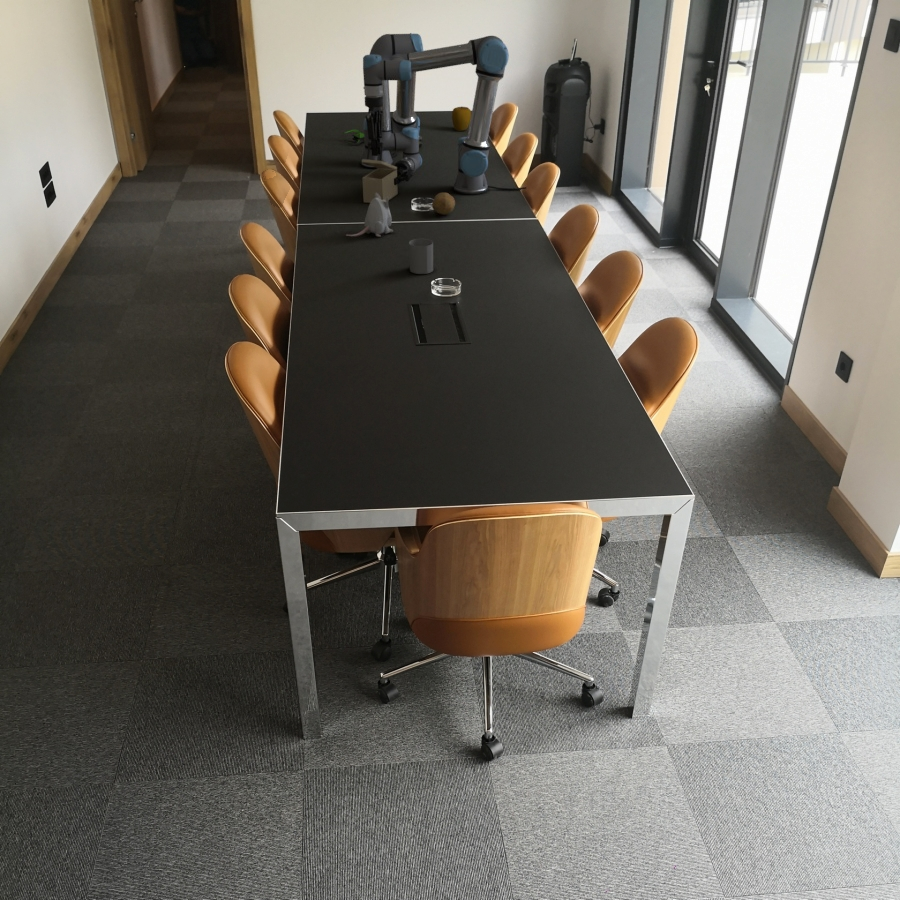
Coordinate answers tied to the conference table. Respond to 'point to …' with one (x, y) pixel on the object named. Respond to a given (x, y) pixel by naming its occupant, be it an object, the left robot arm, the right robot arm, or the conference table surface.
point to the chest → (379, 184)
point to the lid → (380, 163)
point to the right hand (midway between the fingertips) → (376, 154)
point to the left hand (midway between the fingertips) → (384, 180)
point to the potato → (443, 203)
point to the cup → (421, 256)
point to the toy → (377, 217)
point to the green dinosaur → (356, 137)
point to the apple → (461, 118)
